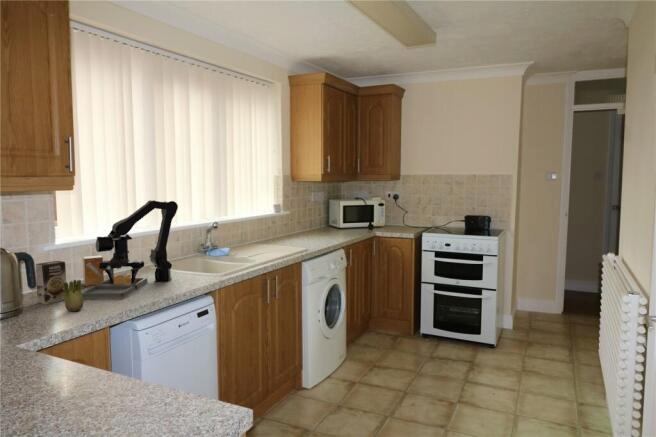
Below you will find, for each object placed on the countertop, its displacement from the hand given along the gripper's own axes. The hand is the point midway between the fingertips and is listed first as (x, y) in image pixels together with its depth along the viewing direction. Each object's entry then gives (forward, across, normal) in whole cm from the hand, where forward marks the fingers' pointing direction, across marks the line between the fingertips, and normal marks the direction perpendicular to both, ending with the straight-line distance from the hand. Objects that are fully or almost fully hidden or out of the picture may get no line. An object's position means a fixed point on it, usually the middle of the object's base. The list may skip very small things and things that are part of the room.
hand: (122, 282), depth 219 cm
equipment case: (+2, 0, 0) cm, 2 cm away
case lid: (+2, 0, -15) cm, 15 cm away
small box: (+2, -16, +6) cm, 17 cm away
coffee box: (+2, -19, -24) cm, 31 cm away
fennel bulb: (+2, -3, -38) cm, 38 cm away
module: (+2, 0, 0) cm, 2 cm away
